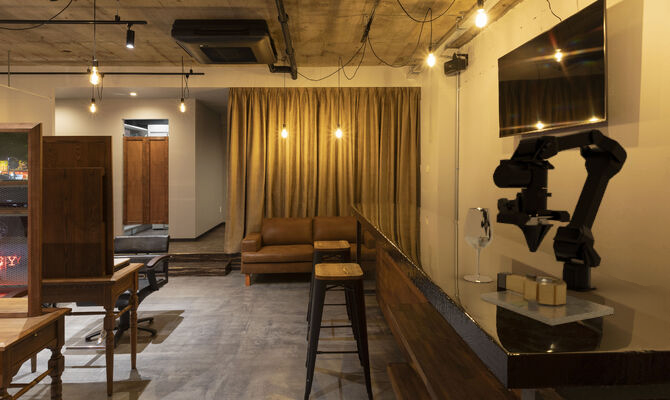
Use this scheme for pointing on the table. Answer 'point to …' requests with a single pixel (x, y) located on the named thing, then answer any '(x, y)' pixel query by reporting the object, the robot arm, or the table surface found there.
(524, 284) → the octagonal ring with handle
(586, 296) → the table surface
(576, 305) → the post base
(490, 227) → the wineglass
